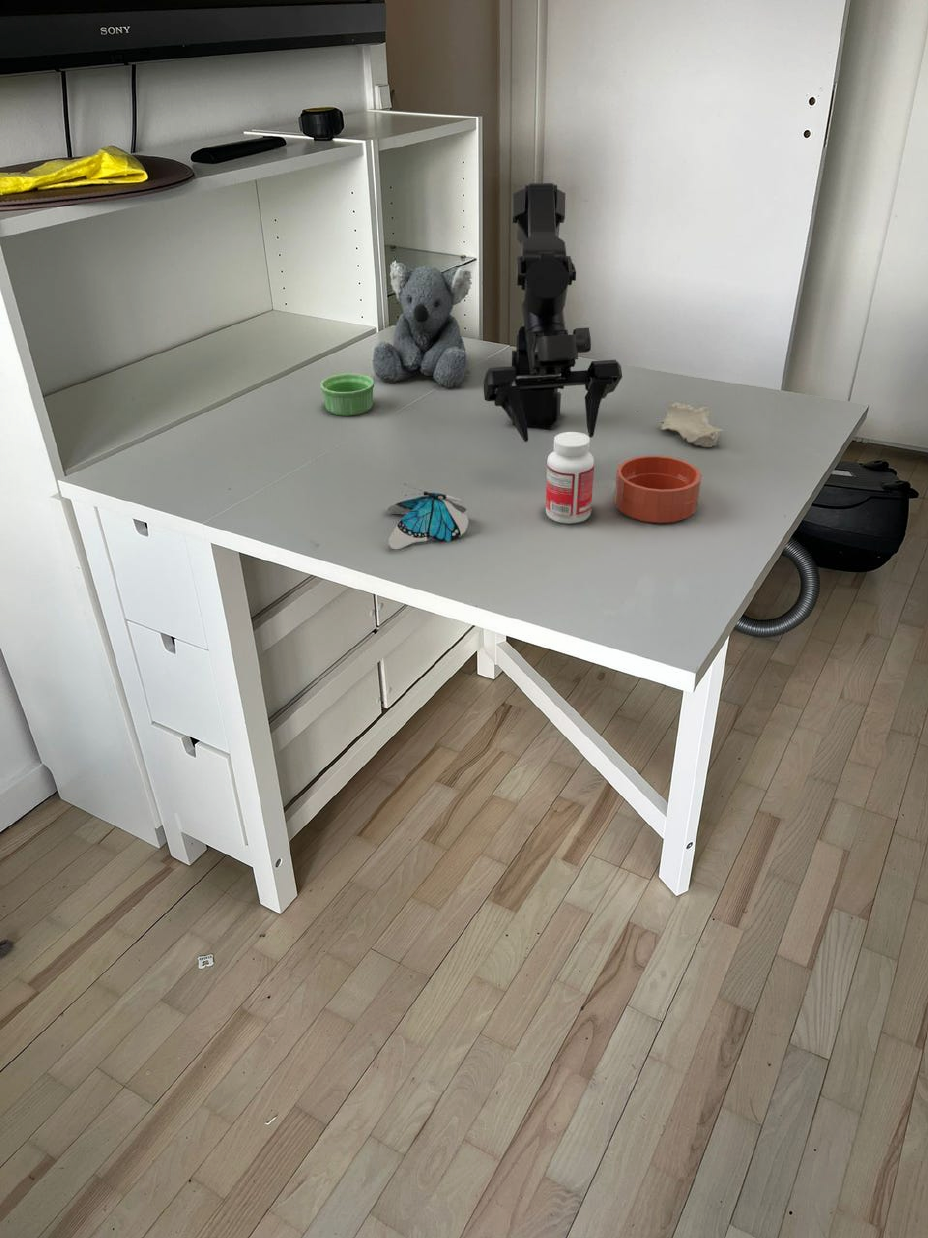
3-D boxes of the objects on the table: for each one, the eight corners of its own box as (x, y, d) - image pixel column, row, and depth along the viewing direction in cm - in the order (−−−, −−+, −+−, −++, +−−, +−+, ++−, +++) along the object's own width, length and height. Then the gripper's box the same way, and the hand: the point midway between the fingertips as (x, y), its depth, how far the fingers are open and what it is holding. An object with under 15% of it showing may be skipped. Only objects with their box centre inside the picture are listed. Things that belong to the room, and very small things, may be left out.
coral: (709, 452, 146) (713, 425, 144) (653, 433, 153) (655, 407, 150) (729, 441, 150) (733, 414, 147) (673, 423, 156) (676, 397, 153)
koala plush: (369, 383, 173) (361, 272, 162) (397, 351, 187) (391, 247, 176) (462, 390, 169) (461, 277, 158) (483, 357, 184) (483, 251, 173)
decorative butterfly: (475, 517, 121) (397, 503, 119) (463, 561, 125) (387, 548, 123) (468, 482, 130) (395, 469, 128) (457, 524, 133) (386, 511, 131)
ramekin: (313, 413, 161) (310, 388, 159) (338, 395, 168) (336, 370, 166) (360, 420, 159) (358, 395, 156) (384, 401, 165) (383, 376, 163)
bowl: (607, 518, 129) (610, 485, 126) (621, 483, 138) (624, 451, 135) (691, 529, 126) (696, 495, 124) (700, 493, 135) (705, 460, 132)
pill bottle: (584, 502, 133) (589, 427, 127) (595, 523, 128) (601, 446, 122) (541, 505, 133) (543, 430, 126) (550, 526, 127) (553, 449, 121)
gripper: (486, 309, 126) (499, 422, 124) (624, 301, 128) (640, 412, 125) (478, 346, 137) (489, 451, 135) (605, 338, 139) (619, 441, 136)
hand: (559, 438), depth 132 cm, fingers open, 9 cm apart
